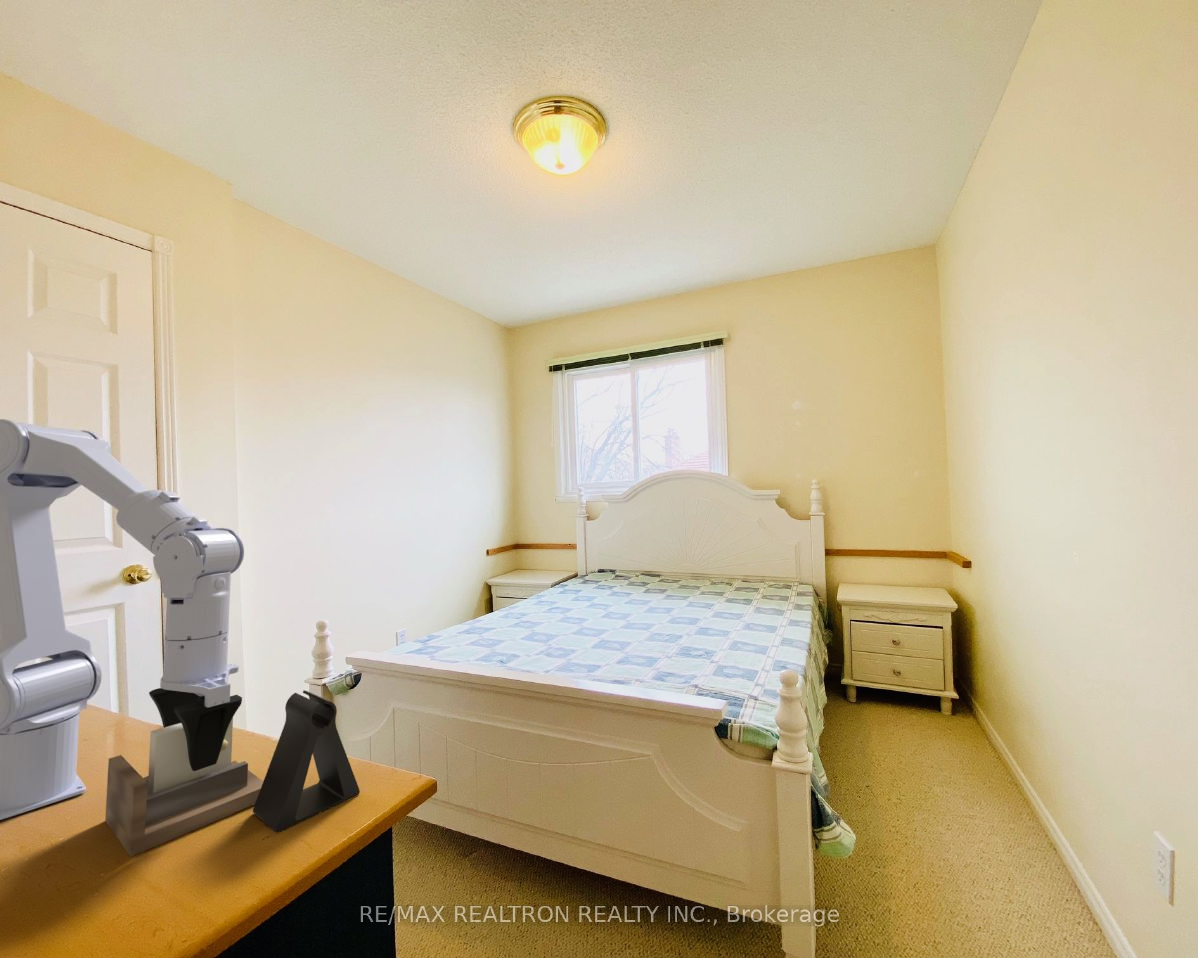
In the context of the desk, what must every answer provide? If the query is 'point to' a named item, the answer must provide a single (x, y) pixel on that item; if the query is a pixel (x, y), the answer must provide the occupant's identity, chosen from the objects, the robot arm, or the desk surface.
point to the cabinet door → (179, 758)
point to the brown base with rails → (173, 803)
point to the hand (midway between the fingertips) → (192, 756)
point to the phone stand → (305, 766)
